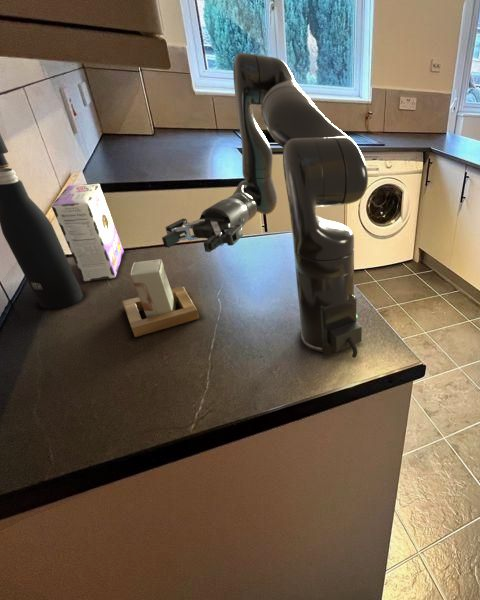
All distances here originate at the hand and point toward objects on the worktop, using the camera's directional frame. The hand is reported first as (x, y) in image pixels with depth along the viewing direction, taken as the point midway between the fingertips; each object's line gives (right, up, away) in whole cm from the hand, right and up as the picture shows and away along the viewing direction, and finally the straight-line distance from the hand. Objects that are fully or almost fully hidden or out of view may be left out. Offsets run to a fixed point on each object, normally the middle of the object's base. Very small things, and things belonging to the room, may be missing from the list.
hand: (185, 245), depth 75 cm
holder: (-2, -14, -5) cm, 14 cm away
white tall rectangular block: (-2, -14, -4) cm, 14 cm away
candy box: (-23, -3, +9) cm, 25 cm away
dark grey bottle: (-22, -11, -3) cm, 25 cm away
